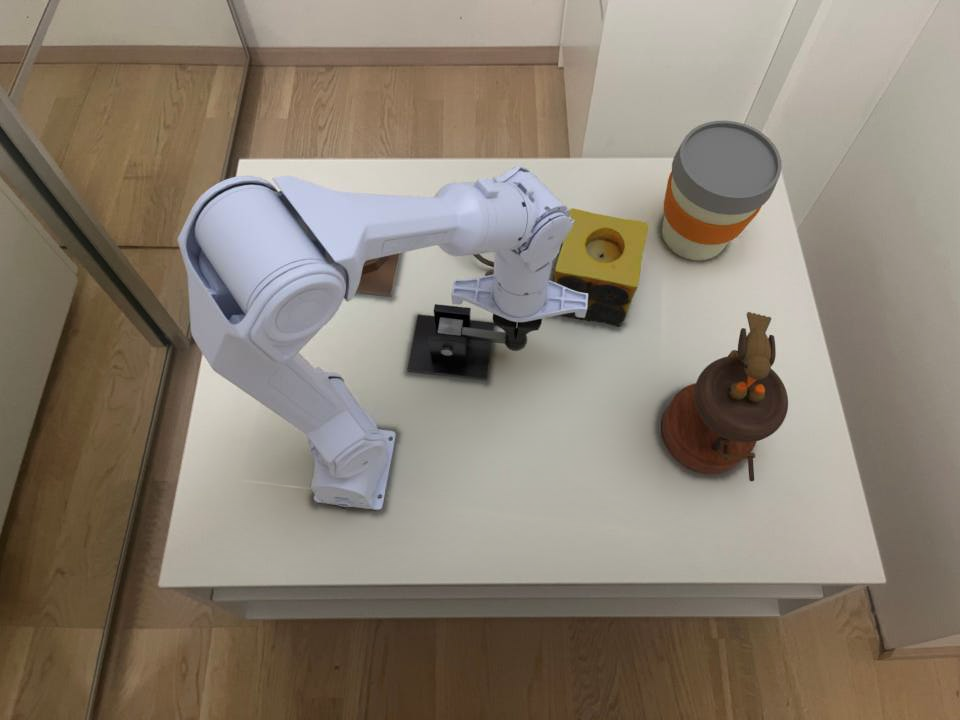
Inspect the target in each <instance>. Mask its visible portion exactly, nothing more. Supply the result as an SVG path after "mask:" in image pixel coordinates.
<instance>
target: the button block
mask: <svg viewBox="0 0 960 720" xmlns="http://www.w3.org/2000/svg"><path fill="white" fill-rule="evenodd" d="M401 255H402V253H398V254H393V255H389V256H384V257H380V258H375V259H371V260H367V261H365V263H364V265H363V269H362V274H361V278H360V282H359V286H358V288H357V291H356V293H355V294H362V295H370V296H371V295H372V296H380V297H381V296H382V297H389V298H391V297H393V293H394V288H395V283H396V277H397V273H398V270H399V269H398V268H399V264H400V259H401Z"/></svg>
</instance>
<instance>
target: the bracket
mask: <svg viewBox="0 0 960 720" xmlns="http://www.w3.org/2000/svg"><path fill="white" fill-rule="evenodd" d="M440 317H444V318H451V319H459V320H463V327H468V328H475V329H483V330H491V331H495V325H494V323H493V321H492V322H491V321H482V320H475V319H474V320H473V319H472V309H471V307H465V306H464V307H463V306H455V305H446V304H438V303H437V304H436V303H435V304H434V306H433V315H427V314H417V318H416V323H415V328H414V334H413V338H412V344H411V349H410V356H409V360H408V365H407V372H408V373H415V374H424V375H432V376H442V377H450V378H460V379H467V380H476V381H486V382H487V381H488V377H489V368H490V362H491V361H490V360H491V354H492V347H493V342H487V341H479V340H472V339H466V337H460V336H451V335H442V334H438V327H439V321H440Z"/></svg>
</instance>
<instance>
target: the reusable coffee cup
mask: <svg viewBox="0 0 960 720" xmlns="http://www.w3.org/2000/svg"><path fill="white" fill-rule="evenodd" d="M782 165H783V164H782V158H781V155H780V151H779V150H778V148H777V147H776V144H775V143H773V142H772V140H771V139H770V138H769V137H768V136H767V135H765V134H764V133H763V132H761V131H760V130H758V129H757V128H755V127H753V126H750V125H748V124H746V123H742V122H738V121H732V120H714V121H708V122H705V123H702V124H700V125H697V126H695V127H694V128H692V129H691V130H690V131H689V132H687V134H686V135H685V137H684V138H683V140H682V142H681V143H680V145H679V147H678V149H677V150H676V152H675V155H674V157H673V159H672V163H671V171H670V173H669V175H668V179H667V184H666V189H665V194H664V200H663V213H664V215H663V216H664V217H663V220H662V221H663V222H662V225H661V226H662V227H661V234H662V238H663V240H664V243H665V245H666V246H667V247H668V249H670V250H671V251H672V252H673V253H674V254H676V255H677V256H679V257H681V258H684V259H687V260H690V261H706V260H710V259H712V258H715V257H716V256H718V255H720V253H721V252H722V251H723V250H724V249H725V248H726V246H727V245H728V244H729V243H730V242H731V241H733V240H735V239H736V238H738V237H739V236H740V235H741V233H743V231H744V230H745V229H746V228H747V227H748V225H749V224H750V223H751V222H752V221H753V220H754V219H755V217H756V216H757V215H758V214H759V213H760V211H761V209H762V207H763V206H764V205H765V204H766V203H767V202H768V201H769V199H771V196H773V195H772V194H773V193H774V191H775V188H776V186H777V184H778V181H779V178H780V176H781V172H782V168H783V167H782Z"/></svg>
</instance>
